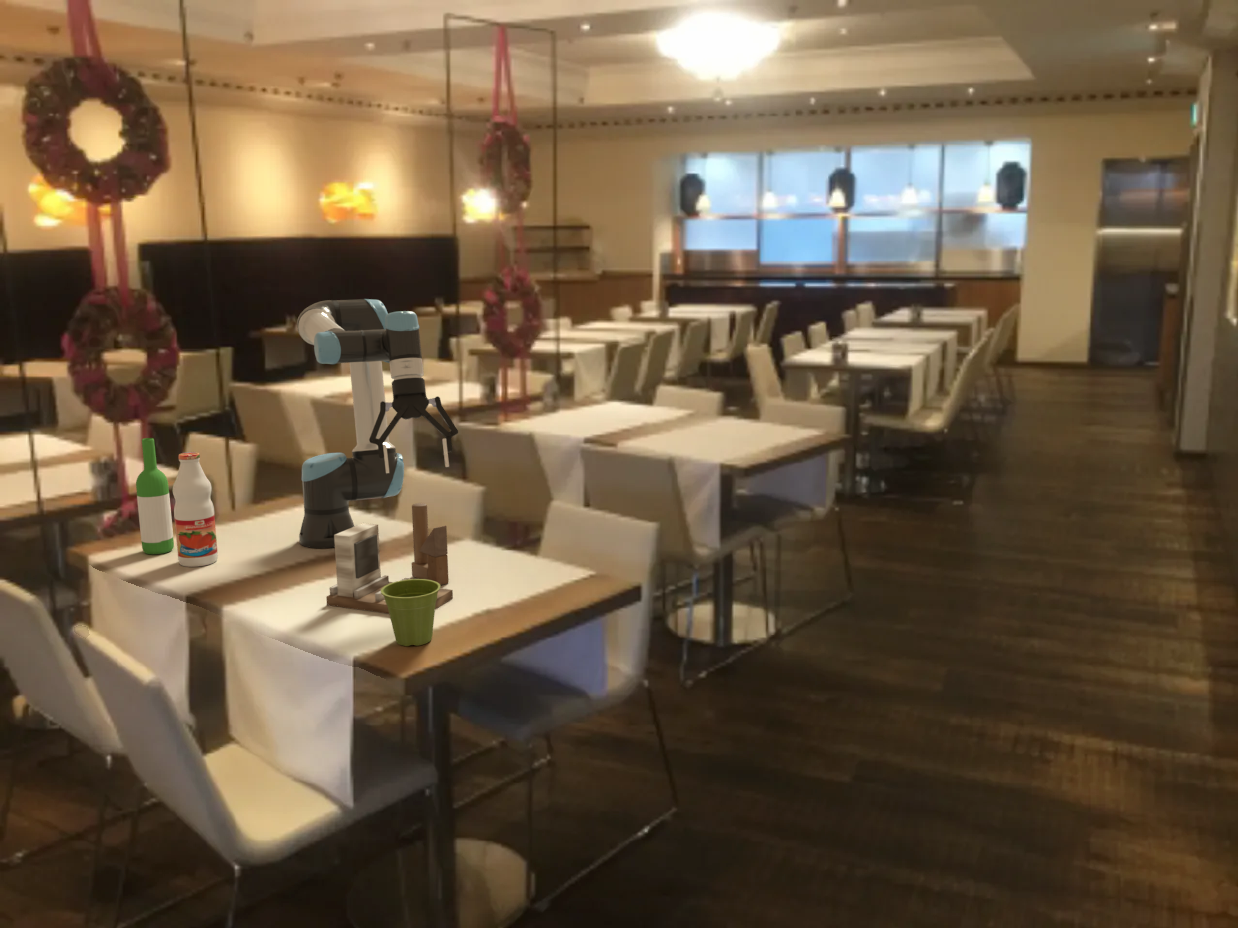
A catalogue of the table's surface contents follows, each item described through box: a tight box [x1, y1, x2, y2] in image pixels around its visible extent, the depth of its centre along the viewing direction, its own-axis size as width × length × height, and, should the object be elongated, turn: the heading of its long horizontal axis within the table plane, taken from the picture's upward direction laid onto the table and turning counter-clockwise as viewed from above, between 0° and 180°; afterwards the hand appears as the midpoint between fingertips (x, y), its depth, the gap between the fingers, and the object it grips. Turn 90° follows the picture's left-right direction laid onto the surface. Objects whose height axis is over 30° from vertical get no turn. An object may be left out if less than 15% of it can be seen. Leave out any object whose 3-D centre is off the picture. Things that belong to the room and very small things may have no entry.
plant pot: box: [381, 578, 442, 647], centre depth 219 cm, size 12×12×11 cm
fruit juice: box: [172, 451, 219, 568], centre depth 273 cm, size 9×9×28 cm
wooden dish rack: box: [325, 522, 454, 615], centre depth 243 cm, size 14×24×16 cm, turn 68°
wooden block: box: [411, 502, 450, 586], centre depth 258 cm, size 4×11×18 cm, turn 43°
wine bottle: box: [135, 437, 175, 555], centre depth 282 cm, size 8×8×30 cm
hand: (417, 470), depth 251 cm, fingers open, 13 cm apart
